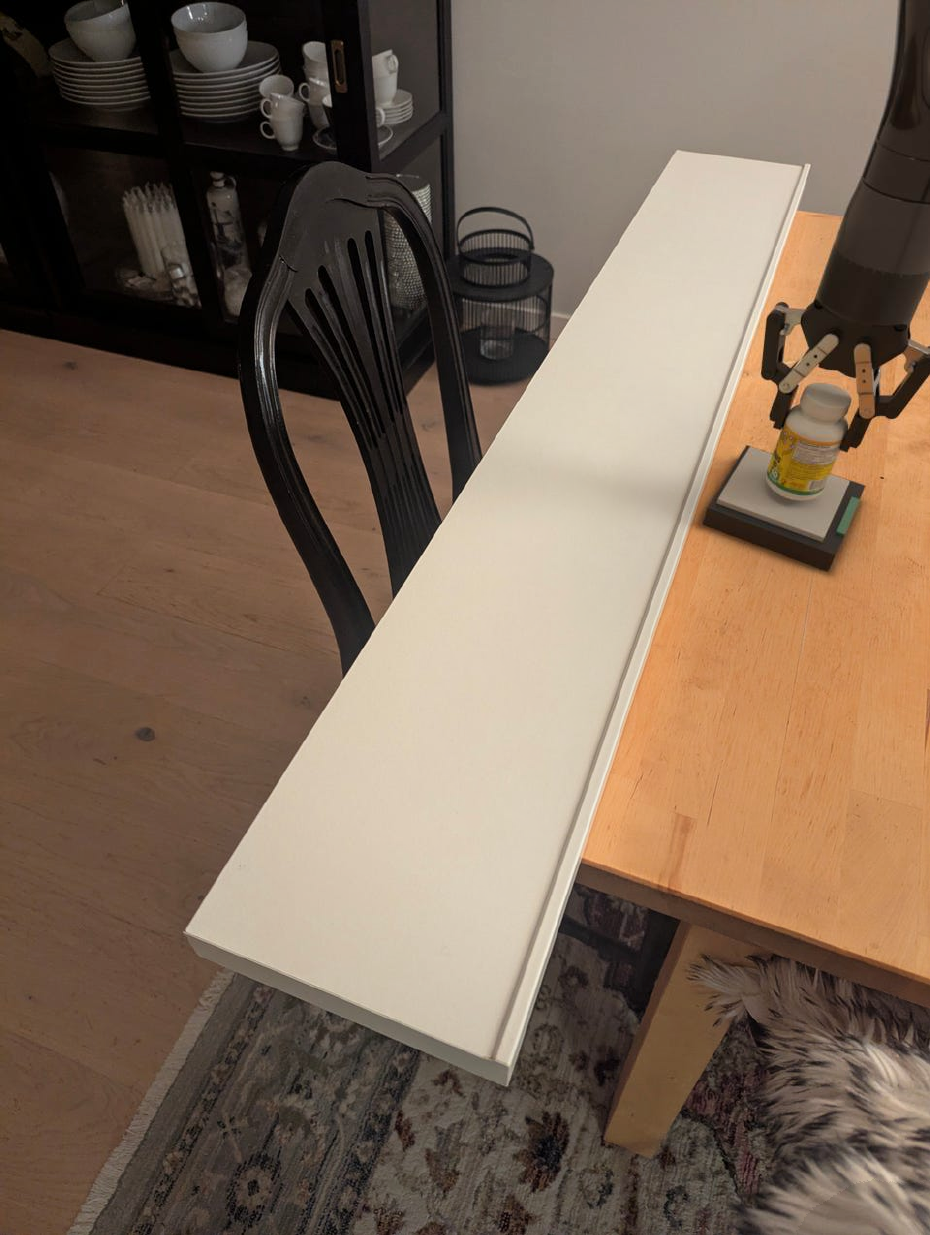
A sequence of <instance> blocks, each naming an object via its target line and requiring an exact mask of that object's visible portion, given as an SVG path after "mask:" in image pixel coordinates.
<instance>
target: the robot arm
mask: <svg viewBox="0 0 930 1235" xmlns="http://www.w3.org/2000/svg"><path fill="white" fill-rule="evenodd" d="M847 203H848V204H847V205H846V208H845V211H844V214H843V216H842V219H841V222H840V225H839V228H838V231H837V234H836V236H835V239H834V242H833V245H832V248H831V251H830V253H829V257H828V259H827V262H826V265H825V268H824V271H823V273H822V276H821V279H820V282H819V285H818V288H817V290H816V293H815V297H814V299H813V301H812V302H811V303H810V304H809V305H807V307H806V308H805V309H804V308H794V307H790V306H789V304H788V303H786V302H785V301H779V302H777V303H776V304H775V306H774V307H773V308H772V309H771V311H770V312H769V313H768V315H767V317H766V321H765V328H764V329H765V330H764V339H763V347H762V348H763V349H762V359H761V369H760V377H761V378H762V379H763V380H765V381H771V382H772V383H774V384H775V386H776V388H777V392H776V394H775V397H774V400H773V403H772V406H771V409H770V412H769V414H768V416H769V421H771V422H773V426H772V428H773V429H775V430H778V431H781V430H782V427H783V424H784V421H785V418H786V416H787V414H788V412H789V411H790V410H791V409H792V406H793V404H794V400H795V398H796V395H797V393H798V390H799V388H800V383H801V382H802V381H803V380H804V379H805V378H807V377H808V376H809V375H810V374H811V373H812V371H813V370H814V369H815V368H819V369H821V370H826V371H835V372H836V371H837V372H839V373H840V374H842V375H844V376H845V377H848V378H852V379H856V380H855V381H856V382H855V383H856V384H855V385H856V394H857V396H858V407H857V409H856V411H855V413H854V416H853V418H852V420H851V423H850V424H849V426H848V431H847V434H846V436H845V439H844V441H843V443H842V446H841V448H840V452H844V453H846V454H847V453H849V451H850V448H852V449H857V448H858V447H859V446H861V444H862V442H863V440H864V437H865V435H866V433H867V430H868V428H869V426H870V424H871V421H872V420H873V419H874V418H877V417H885V418H886V419H888V420H895V419H897V418H898V417H899V416H900V414H902V412H903V411H904V410H905V408H906V407H907V406H908V404H909V403H910V402H911V400H912V399H913V398H914V397H915V395H916V394H917V393H918V391H919V390H920V389H921V387H922V386H923V384H924V383H925V382H926V380H927V379H928V378H929V377H930V345H929V346H925V345H923V344H921V343H919V342H917V341H915V340H913V339H911V338H912V334H911V323H912V321H913V318H914V316H915V314H916V312H917V309H918V307H919V305H920V303H921V300H922V298H923V296H924V293H925V292H926V289H927V287H928V285H929V282H930V0H897V10H896V23H895V38H894V49H893V60H892V67H891V72H890V79H889V85H888V90H887V95H886V100H885V103H884V107H883V111H882V115H881V118H880V121H879V125H878V127H877V131H876V134H875V136H874V140H873V143H872V145H871V148H870V151H869V154H868V155H867V160H866V162H865V164H864V168H863V170H862V174H861V176H860V178H859V181H858V183H857V185H856V187H855V190H854V192H853V193H852V195H851V197H850V200H848V202H847ZM798 325H800V327H801V330H802V334H803V336H804V339H805V341H806V345H807V347H808V348H807V349H805V351H804V352H803V354H801V356H800V357H799V358H798V359H797V360H796V361H795V362H794V363H793V364H792V365H791V366H789V365H787V364H786V363H784V355H785V348H786V347H785V346H786V339H787V336H790V335H791V334H792V332H793V331H794V329H795V328H796V326H798ZM900 355H903V356H904V357H905V362H904V364H903V369H904V371H905V372H906V373H907V374H906V375H905V376H904V377H903V379H902V380H901V381H900V383H899V384H898V386H897V387H896V388H895V389H894V391H893V393H892V394H887V395H885V394H883V395H882V390H881V379H882V367H883V366H884V365H886V364H887V363H889V362H891V361H892V360H894V359H896V358H897V357H898V356H900Z"/></svg>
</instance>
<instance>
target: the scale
mask: <svg viewBox="0 0 930 1235" xmlns="http://www.w3.org/2000/svg"><path fill="white" fill-rule="evenodd" d="M772 455H773V452H768V451H766V450H763V449H760V448H757V447H754V446H751V445H749V444H746V445H745V447H744V448H743V450H742V451H741V453H740V454H739V456H738V458H737V460H736V461H735V462H734V464H733V466H732V467H731V469H730V471H729V472H728V474H727V475H726V477H725V478H724V480H723V482H722V484H720V486H719V489H718V490H717V491H716V493H715V495H714V496H713V498H712V499H711V501H710V503H709V504H708V506H707V508H706V510H705V514H704V517H703V520H702V525H705V526H707V527H709V528H712V529H715V530H717V531H720V532H722V533H726V534H728V535H731V536H734V537H736V538H738V539H741V540H744V541H746V542H750V543H752V544H754V545H757V546H759V547H762V548H765V549H769V550H770V551H772V552H773V551H774V552H776V553H779V554H781V555H783V556H786V557H789V558H791V559H794V560H797V561H800V562H802V563H805V564H807V565H810V566H813V567H815V568H818V569H821V570H823V571H826V572H829V571H830V569H831V567H832V565H833V562H834V561H835V558H836V556H837V554H838V552H839V550H840V547H841V545H842V542H843V540H844V538H845V536H846V533H847V531H848V529H849V527H850V524H851V522H852V520H853V517H854V515H855V512H856V511H857V508H858V505H859V503H860V501H861V498H862V496H863V493H864V491H865V489H866V485H865V484H862V483H859V482H856V481H854V480H851V479H847V478H845V477H842V476H839V475H836V474H833V473H830V475H829V478H828V480H827V483H826V485H825V487H824V490H823V491H822V493H821V494H820V495H819V496H817V497H816V498H814V499H810V500H804V501H800V500H793V499H789V498H786V497H783V496H781V495H779V494H778V493H776V492H775V491H774V490H773V489H772V488H771V487H770V486H769V485H768V483H767V481H766V472H767V469H768V466H769V463H770V461H771V458H772Z"/></svg>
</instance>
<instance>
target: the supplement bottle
mask: <svg viewBox="0 0 930 1235" xmlns="http://www.w3.org/2000/svg"><path fill="white" fill-rule="evenodd" d="M851 404H852V396H851V394H850V393H849V392H847V390H846V389H844V388H842V387H841V386H837V385H835V384H832V383H828V382H812V383H809V384H808V385H807V386H805V388H804V389H803V392H802V393H801V396H800V399H799V403H798V404H796V405H795V406H793V407H791V409H790V411H789V412H788V414H787V416H786V418H785V421H784V424H783V427H782V429H781V430H780V433H779V435H778V438H777V441H776V443H775V447H774V450H773V452H772V454H773V455H772V458H771V461H770V463H769V466H768V469H767V472H766V481H767V483H768V485H769V486H770V487H771V488H772V489H773V490H774V491H775V492H776V493H778V494H779V495H781V496H783V497H786V498H789V499H793V500H800V501H804V500H810V499H814V498H816V497H817V496H819V495H820V494H821V493H822V491H823V490H824V487H825V485H826V483H827V480H828V478H829V475H830V474H832V470H833V468H834V466H835V464H836V461H837V458H838V457H839V454H840V452H841V450H840V448H841V446H842V443H843V441H844V439H845V436H846V434H847V431H848V429H849V423H848V420H847V418H846V416H847V415H848V412H849V409H850V407H851Z"/></svg>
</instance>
